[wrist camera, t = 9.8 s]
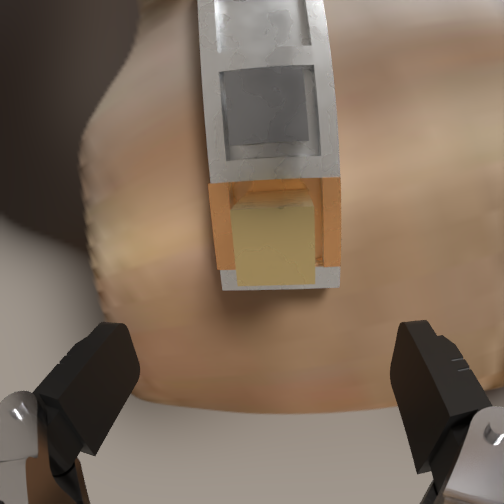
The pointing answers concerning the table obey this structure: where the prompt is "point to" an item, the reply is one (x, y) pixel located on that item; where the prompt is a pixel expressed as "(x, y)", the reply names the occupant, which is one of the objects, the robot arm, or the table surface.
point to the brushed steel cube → (266, 106)
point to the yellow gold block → (274, 238)
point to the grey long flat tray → (275, 154)
